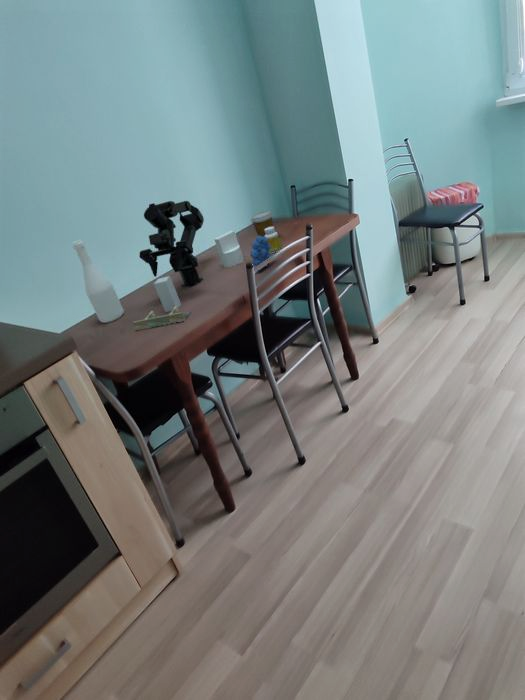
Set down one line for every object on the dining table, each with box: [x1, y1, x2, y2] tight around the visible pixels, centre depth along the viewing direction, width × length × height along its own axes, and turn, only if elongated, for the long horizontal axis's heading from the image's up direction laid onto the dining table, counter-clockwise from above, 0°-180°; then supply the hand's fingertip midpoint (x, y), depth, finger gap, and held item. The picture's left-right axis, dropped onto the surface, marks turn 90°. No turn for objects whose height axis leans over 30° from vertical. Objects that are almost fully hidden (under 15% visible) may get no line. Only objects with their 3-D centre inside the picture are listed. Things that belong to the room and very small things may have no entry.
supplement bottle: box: [264, 226, 282, 255], centre depth 194 cm, size 5×5×10 cm
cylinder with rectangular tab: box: [214, 230, 245, 268], centre depth 196 cm, size 9×9×12 cm
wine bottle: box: [72, 239, 125, 324], centre depth 175 cm, size 10×10×30 cm
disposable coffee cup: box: [250, 210, 274, 237], centre depth 210 cm, size 10×10×12 cm
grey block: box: [153, 276, 182, 313], centre depth 169 cm, size 4×4×11 cm
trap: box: [132, 306, 192, 331], centre depth 162 cm, size 7×18×3 cm, turn 79°
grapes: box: [249, 235, 272, 271], centre depth 180 cm, size 12×7×12 cm, turn 144°
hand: (166, 273), depth 171 cm, fingers open, 9 cm apart
